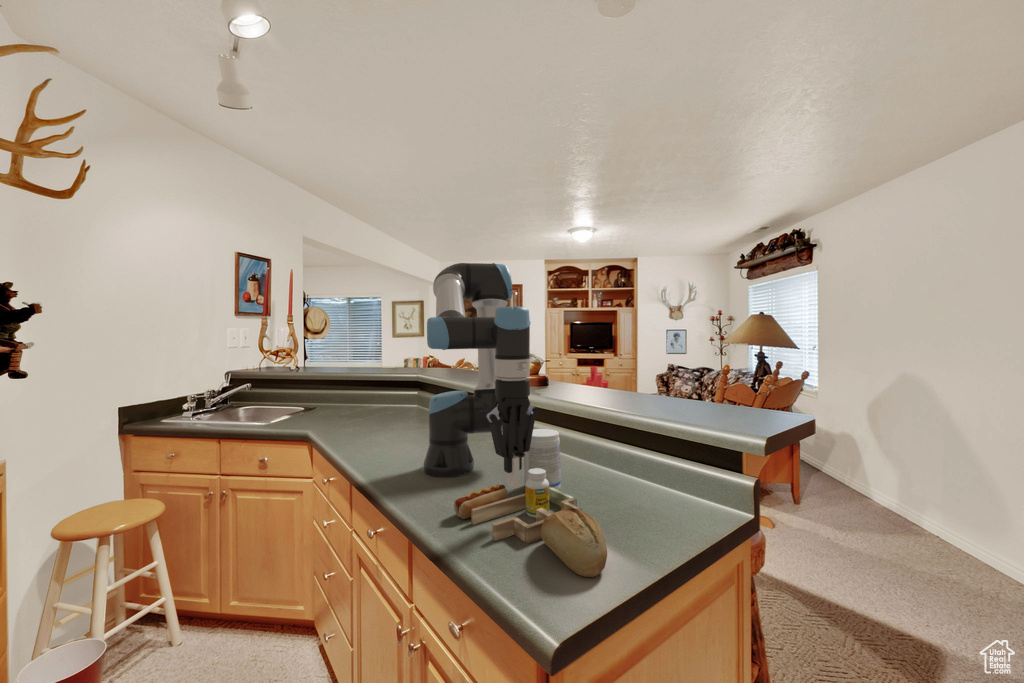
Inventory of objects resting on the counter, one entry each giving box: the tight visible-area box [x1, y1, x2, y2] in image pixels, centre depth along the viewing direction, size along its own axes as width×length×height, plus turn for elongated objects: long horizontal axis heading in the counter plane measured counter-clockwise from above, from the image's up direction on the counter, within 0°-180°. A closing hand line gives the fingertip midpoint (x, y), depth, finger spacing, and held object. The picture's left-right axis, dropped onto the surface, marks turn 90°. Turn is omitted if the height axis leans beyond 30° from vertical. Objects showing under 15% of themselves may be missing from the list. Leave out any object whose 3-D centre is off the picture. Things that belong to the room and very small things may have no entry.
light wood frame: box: [470, 486, 583, 545], centre depth 85 cm, size 14×22×3 cm, turn 125°
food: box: [453, 484, 508, 520], centre depth 91 cm, size 14×6×5 cm, turn 132°
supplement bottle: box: [524, 468, 550, 519], centre depth 89 cm, size 5×5×10 cm
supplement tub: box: [523, 428, 562, 491], centre depth 104 cm, size 10×10×15 cm
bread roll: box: [541, 508, 608, 578], centre depth 71 cm, size 10×15×8 cm, turn 28°
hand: (513, 485), depth 86 cm, fingers closed
